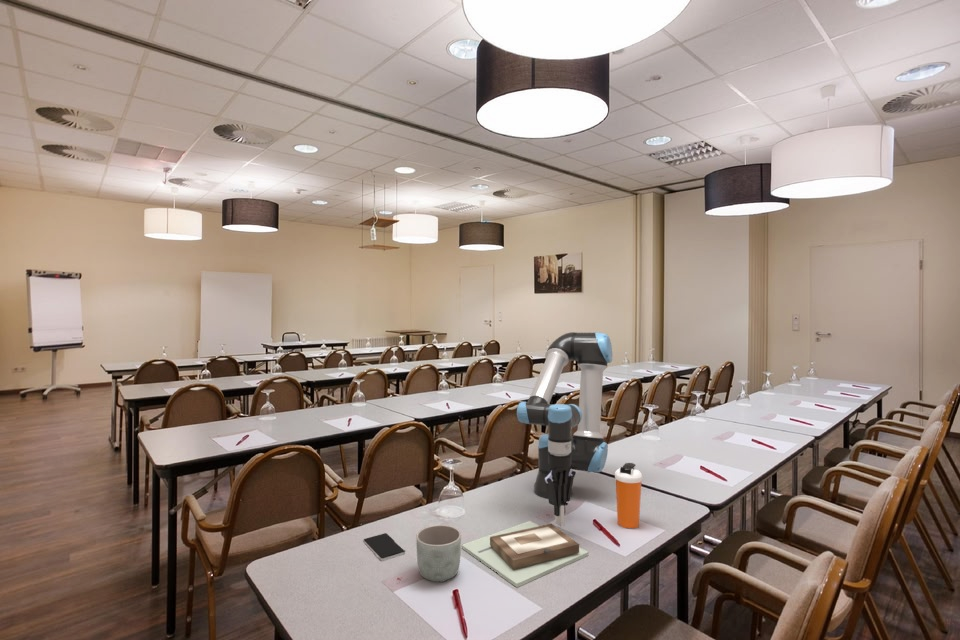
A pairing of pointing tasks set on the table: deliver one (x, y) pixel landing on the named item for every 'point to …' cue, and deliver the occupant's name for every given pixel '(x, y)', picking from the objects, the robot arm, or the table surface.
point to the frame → (533, 545)
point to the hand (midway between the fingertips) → (559, 524)
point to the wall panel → (522, 574)
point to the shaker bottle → (628, 495)
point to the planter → (438, 552)
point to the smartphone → (384, 546)
